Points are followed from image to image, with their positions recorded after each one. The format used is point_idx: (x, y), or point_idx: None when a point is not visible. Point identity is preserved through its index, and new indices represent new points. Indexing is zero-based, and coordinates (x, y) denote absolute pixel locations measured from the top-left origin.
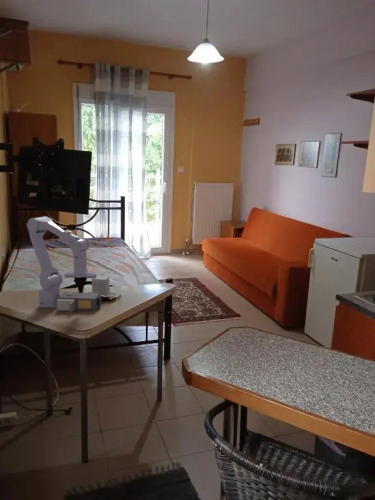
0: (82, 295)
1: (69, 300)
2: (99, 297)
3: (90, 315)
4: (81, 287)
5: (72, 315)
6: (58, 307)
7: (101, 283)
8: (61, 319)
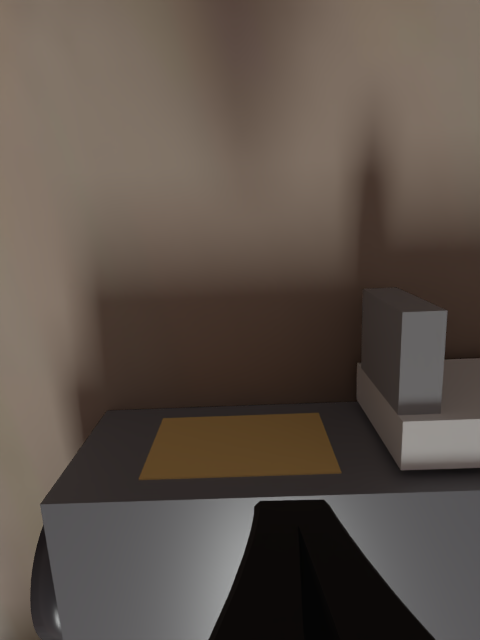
0: None
1: (475, 419)
2: (38, 600)
3: (117, 250)
4: (254, 623)
5: (336, 225)
6: None
7: None
8: (441, 65)
